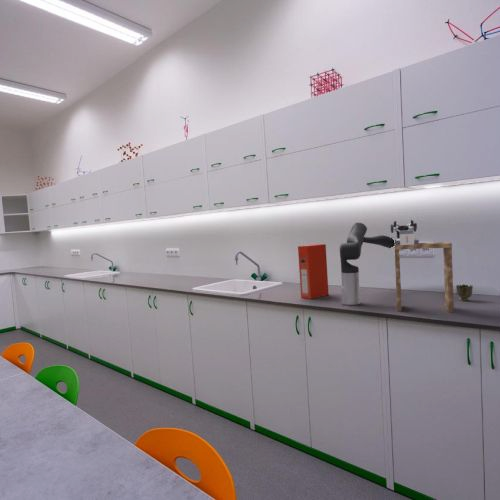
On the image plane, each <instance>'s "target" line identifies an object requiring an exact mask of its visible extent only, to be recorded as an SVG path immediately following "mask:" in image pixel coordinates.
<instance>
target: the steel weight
mask: <svg viewBox="0 0 500 500" xmlns="http://www.w3.org/2000/svg"><path fill="white" fill-rule="evenodd" d="M402 234H414V231H413V230H404V231H399V237H400V235H402Z"/></svg>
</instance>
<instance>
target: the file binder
mask: <svg viewBox="0 0 500 500" xmlns="http://www.w3.org/2000/svg"><path fill="white" fill-rule="evenodd" d="M297 252H298V267H299V268H298V269H299V270H298V271H299V285H300V298H301V299H305V300H313V299H317V298H320V297H324V296H329V295H330V294H329V281H328V262H327V261H328V260H327V245H326V243H322V244H321V243H319V244H308V245H300V246H297Z"/></svg>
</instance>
